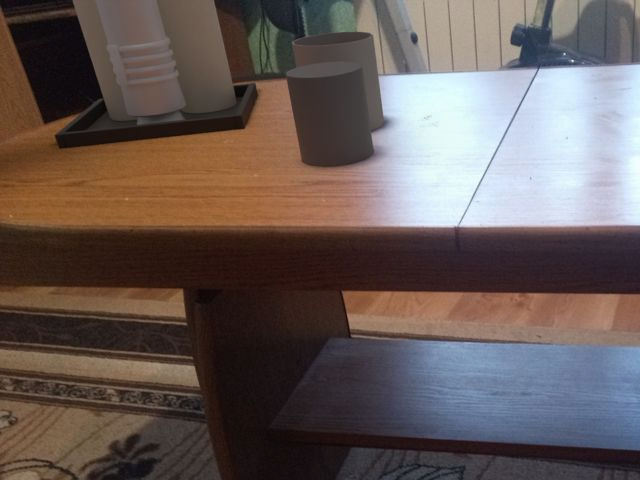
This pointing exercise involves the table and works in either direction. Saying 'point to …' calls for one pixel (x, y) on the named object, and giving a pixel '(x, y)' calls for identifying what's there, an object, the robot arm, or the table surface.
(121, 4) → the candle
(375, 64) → the cup
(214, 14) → the ivory candle right
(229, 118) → the tray
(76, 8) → the ivory candle left
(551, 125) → the table surface
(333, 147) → the grey candle
